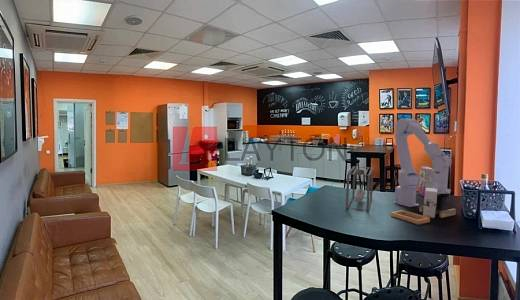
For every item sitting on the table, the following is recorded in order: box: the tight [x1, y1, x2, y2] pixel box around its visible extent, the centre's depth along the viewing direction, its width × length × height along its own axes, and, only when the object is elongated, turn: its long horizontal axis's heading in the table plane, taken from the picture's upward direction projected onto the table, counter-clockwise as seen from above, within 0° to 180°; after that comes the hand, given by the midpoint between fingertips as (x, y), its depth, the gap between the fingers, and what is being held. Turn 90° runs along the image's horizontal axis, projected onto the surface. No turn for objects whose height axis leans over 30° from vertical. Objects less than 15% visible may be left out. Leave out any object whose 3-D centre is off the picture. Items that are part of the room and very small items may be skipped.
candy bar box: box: [418, 166, 434, 198], centre depth 180 cm, size 11×5×16 cm, turn 168°
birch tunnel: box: [418, 205, 457, 218], centre depth 146 cm, size 11×11×2 cm
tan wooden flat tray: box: [390, 209, 431, 226], centre depth 136 cm, size 13×8×2 cm, turn 30°
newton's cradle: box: [345, 165, 374, 212], centre depth 160 cm, size 30×10×18 cm, turn 157°
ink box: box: [422, 188, 438, 219], centre depth 142 cm, size 9×5×12 cm, turn 149°
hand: (438, 209), depth 146 cm, fingers closed
